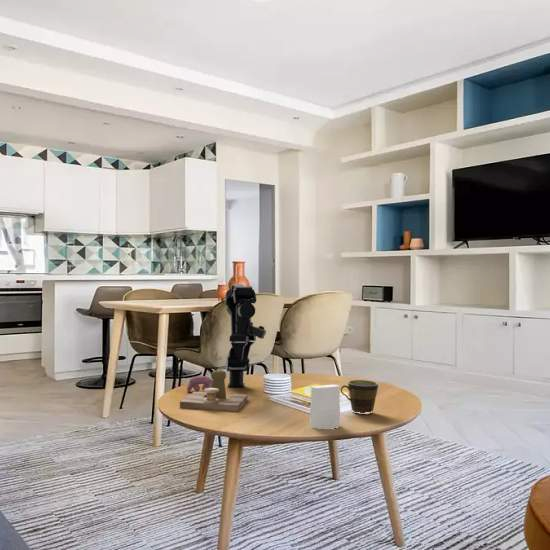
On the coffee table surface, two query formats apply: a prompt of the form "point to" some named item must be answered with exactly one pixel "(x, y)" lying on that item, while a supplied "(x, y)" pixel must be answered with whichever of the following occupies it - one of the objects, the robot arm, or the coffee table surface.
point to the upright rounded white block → (325, 406)
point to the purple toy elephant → (198, 380)
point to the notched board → (213, 401)
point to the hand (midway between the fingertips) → (243, 360)
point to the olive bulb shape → (219, 383)
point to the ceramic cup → (362, 395)
